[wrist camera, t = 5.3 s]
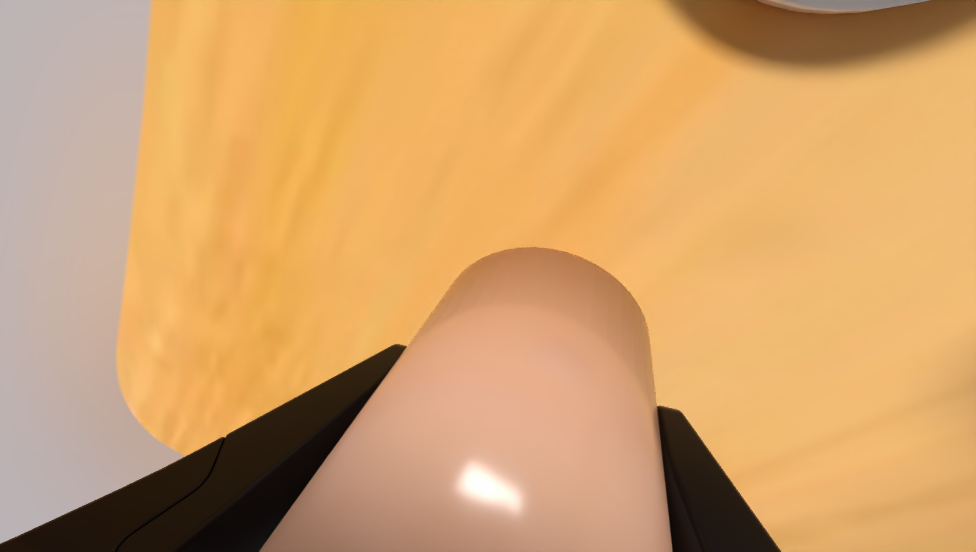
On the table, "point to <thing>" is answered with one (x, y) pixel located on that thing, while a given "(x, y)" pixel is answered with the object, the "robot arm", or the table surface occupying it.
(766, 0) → the coaster
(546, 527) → the cup
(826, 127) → the table surface
